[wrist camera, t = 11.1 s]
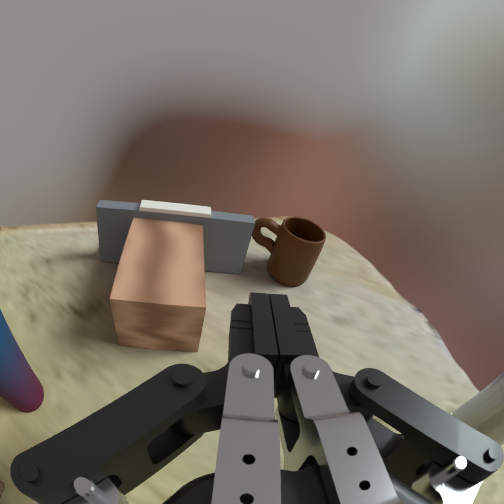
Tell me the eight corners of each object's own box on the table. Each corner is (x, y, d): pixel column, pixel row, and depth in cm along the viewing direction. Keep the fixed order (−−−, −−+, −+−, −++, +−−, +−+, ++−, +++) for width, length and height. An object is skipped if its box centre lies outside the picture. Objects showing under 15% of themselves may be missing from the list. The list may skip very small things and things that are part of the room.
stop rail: (235, 247, 52) (249, 196, 46) (240, 274, 47) (256, 219, 41) (110, 235, 46) (109, 181, 40) (101, 261, 41) (96, 203, 35)
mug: (237, 273, 47) (251, 225, 42) (245, 247, 53) (258, 203, 48) (306, 292, 47) (328, 249, 42) (306, 265, 54) (325, 224, 48)
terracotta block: (195, 271, 45) (203, 224, 40) (197, 352, 34) (206, 307, 28) (134, 265, 43) (133, 217, 37) (119, 346, 31) (109, 298, 26)
